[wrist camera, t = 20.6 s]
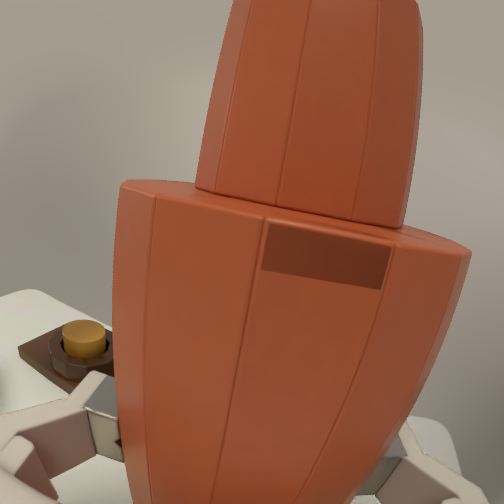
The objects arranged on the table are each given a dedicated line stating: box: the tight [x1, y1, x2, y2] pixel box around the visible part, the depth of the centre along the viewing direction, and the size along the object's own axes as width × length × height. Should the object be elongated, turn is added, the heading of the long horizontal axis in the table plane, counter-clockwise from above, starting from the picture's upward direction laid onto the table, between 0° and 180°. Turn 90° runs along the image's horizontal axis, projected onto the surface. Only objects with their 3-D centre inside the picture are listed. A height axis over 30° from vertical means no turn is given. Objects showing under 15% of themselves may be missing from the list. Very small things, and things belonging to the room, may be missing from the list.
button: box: [62, 320, 106, 358], centre depth 24 cm, size 4×4×2 cm
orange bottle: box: [112, 0, 472, 504], centre depth 7 cm, size 6×6×22 cm
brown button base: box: [18, 324, 115, 394], centre depth 24 cm, size 13×8×3 cm, turn 73°
